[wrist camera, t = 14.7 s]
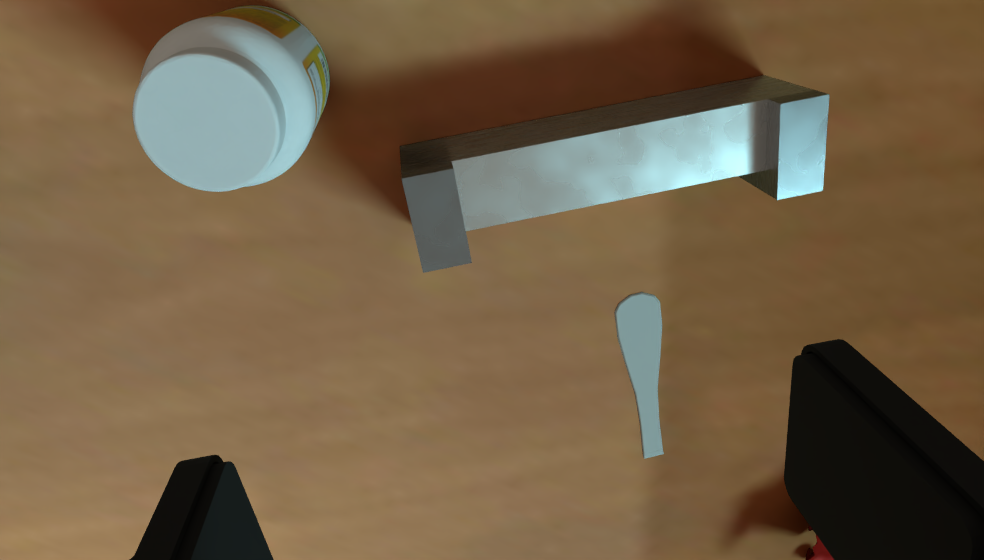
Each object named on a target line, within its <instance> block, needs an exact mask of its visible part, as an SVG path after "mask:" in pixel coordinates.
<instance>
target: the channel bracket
mask: <svg viewBox="0 0 984 560" xmlns="http://www.w3.org/2000/svg"><path fill="white" fill-rule="evenodd" d="M828 107H829V94H826V93H823V92H820V91H816V90H813V89H810V88H806V87H803V86H799V85H796V84H793V83H789V82H786V81H782V80H779V79H776V78H772V77H769V76H766V75H763V76H758V77H753V78H748V79H743V80H737V81H732V82H727V83H722V84H717V85H712V86H707V87H702V88H696V89H691V90H686V91H681V92H676V93H671V94H666V95H660V96H655V97H650V98H645V99H640V100H635V101H630V102H624V103H619V104H614V105H609V106H604V107H599V108H594V109H589V110H583V111H578V112H573V113H568V114H563V115H558V116H553V117H547V118H542V119H537V120H532V121H527V122H522V123H517V124H511V125H506V126H501V127H496V128H491V129H486V130H481V131H476V132H470V133H465V134H460V135H455V136H450V137H445V138H440V139H434V140H429V141H424V142H419V143H414V144H409V145H404V146H400V159H401V177H402V183H403V187H404V191H405V196H406V200H407V204H408V209H409V213H410V217H411V222H412V226H413V230H414V235H415V239H416V243H417V248H418V252H419V256H420V261H421V265H422V269H423V273H424V272H429V271H434V270H439V269H444V268H449V267H453V266H458V265H463V264H468V263H472V262H471V257H470V251H469V246H468V241H467V236H466V231H469V230H474V229H479V228H484V227H489V226H494V225H499V224H503V223H508V222H513V221H518V220H523V219H528V218H533V217H538V216H543V215H548V214H553V213H558V212H563V211H568V210H572V209H577V208H582V207H587V206H592V205H597V204H602V203H607V202H612V201H617V200H622V199H627V198H632V197H637V196H641V195H646V194H651V193H656V192H661V191H666V190H671V189H676V188H681V187H686V186H691V185H696V184H701V183H706V182H710V181H715V180H720V179H725V178H730V177H735V176H739V177H740V178H742V179H744V180H745V181H747V182H748V183H750V184H752V185H753V186H755V187H757V188H758V189H760V190H762V191H763V192H765V193H767V194H768V195H770V196H771V197H773V198H775V199H776V200H779V199H784V198H789V197H794V196H799V195H803V194H808V193H813V192H818V191H823V179H824V165H825V150H826V136H827V121H828Z"/></svg>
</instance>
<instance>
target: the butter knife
mask: <svg viewBox="0 0 984 560" xmlns="http://www.w3.org/2000/svg"><path fill="white" fill-rule="evenodd" d="M614 313H615V321H616V329H617V337H618V341H619V344H620V348H621V351H622V355H623V358H624V361H625V364H626V368H627V371H628V374H629V377H630V380H631V383H632V386H633V389H634V393H635V397H636V403H637V409H638V415H639V420H640V429H641V440H642V450H643V457H644V459H645V458H649V457H653V456H657V455H661V454H664V453H663V447H662V439H661V431H660V422H659V408H658V390H657V389H658V376H659V364H660V350H661V334H662V319H661V309H660V301H659V300H658V299H657V298H656V297H655V295H652V294H648V293H643V292H640V293H636V294H632V295H629V296H628V297H626V298H625V299H624V300H623V301H621V302H620V303H619V304H618V306H617V308H616V310H615V312H614Z"/></svg>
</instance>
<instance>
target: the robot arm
mask: <svg viewBox="0 0 984 560" xmlns="http://www.w3.org/2000/svg"><path fill="white" fill-rule="evenodd" d="M784 481H785V486H786V489H787V492H788V494H789V496H790V498H791V499H792V501H793V502H794V504H795V505H796V507H797V508H798V509H799V511H800V512H801V514H802V515H803V516H804V518H805V519H806V521H807V522H808V524H809V525H810V526H811V528H812V529H813V531H814V532H815V533H816V535H817V536H818V538H819V539H820V540H821V542H822V543H823V545H824V546H825V547H826V549H827V550H828V552H829V553H830V555H831V556H832V557H833V559H834V560H984V461H983V460H982V459H980V458H979V457H978V456H977V455H976V454H975V453H974V452H972V451H971V450H970V449H969V448H968V447H967V446H965V445H964V444H963V443H962V442H961V441H960V440H959V439H957V438H956V437H955V436H954V435H953V434H952V433H951V432H949V431H948V430H947V429H946V428H945V427H944V426H943V425H941V424H940V423H939V422H938V421H937V420H936V419H935V418H933V417H932V416H931V415H930V414H929V413H928V412H927V411H925V410H924V409H923V408H922V407H921V406H920V405H918V404H917V403H916V402H915V401H914V400H913V399H912V398H910V397H909V396H908V395H907V394H906V393H905V392H904V391H902V390H901V389H900V388H899V387H898V386H897V385H896V384H894V383H893V382H892V381H891V380H890V379H889V378H888V377H886V376H885V375H884V374H883V373H882V372H881V371H880V370H878V369H877V368H876V367H875V366H874V365H873V364H871V363H870V362H869V361H868V360H867V359H866V358H865V357H863V356H862V355H861V354H860V353H859V352H858V351H857V350H855V349H854V348H853V347H852V346H851V345H850V344H849V343H847V342H846V341H844V340H840V339H837V340H832V341H826V342H821V343H816V344H810V345H807V346H805V347H804V348H803V350H802V353H801V355H799V356H796V357H795V358H794V360H793V367H792V380H791V393H790V406H789V419H788V432H787V445H786V458H785V471H784ZM130 560H273V557H272V555H271V552H270V550H269V548H268V545H267V543H266V540H265V538H264V535H263V533H262V531H261V528H260V526H259V523H258V521H257V519H256V516H255V514H254V511H253V509H252V506H251V504H250V502H249V499H248V497H247V494H246V492H245V489H244V487H243V485H242V482H241V480H240V477H239V475H238V472H237V470H236V468H235V466H234V464H233V463H232V462H229V461H228V462H223V461H222V459H221V458H220V457H219V456H218V455H211V456H205V457H200V458H195V459H189V460H184V461H181V462H179V463H178V464H177V465H176V467H175V468H174V471H173V473H172V475H171V477H170V479H169V481H168V484H167V486H166V488H165V490H164V492H163V494H162V497H161V499H160V501H159V503H158V505H157V507H156V510H155V512H154V514H153V516H152V518H151V520H150V523H149V525H148V527H147V529H146V531H145V533H144V536H143V538H142V540H141V542H140V544H139V547H138V549H137V551H136V553H135V555H134V556H133V557H132V558H131V559H130Z"/></svg>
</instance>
